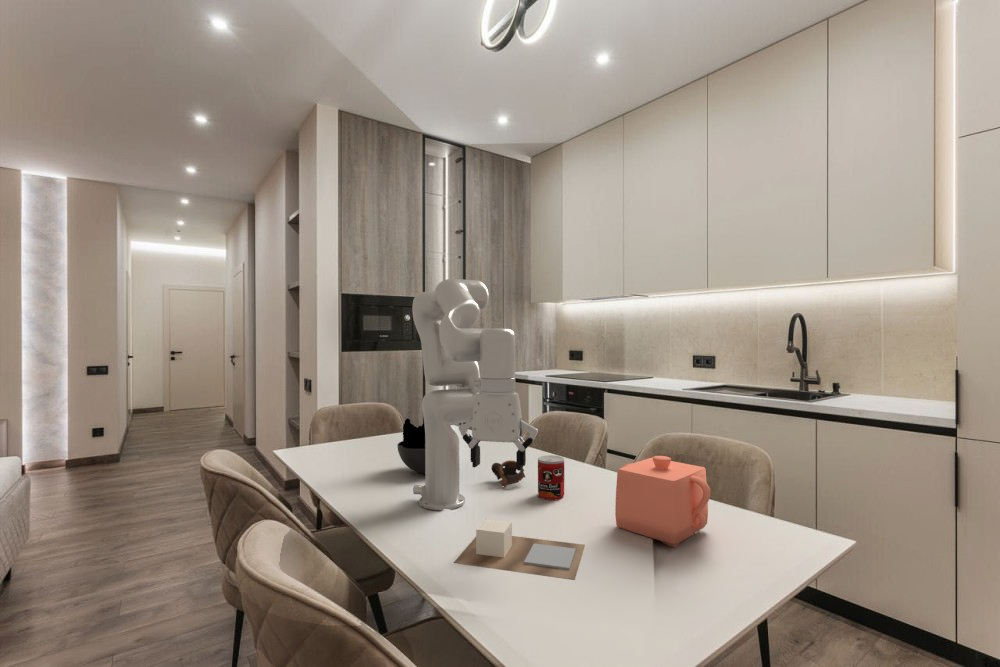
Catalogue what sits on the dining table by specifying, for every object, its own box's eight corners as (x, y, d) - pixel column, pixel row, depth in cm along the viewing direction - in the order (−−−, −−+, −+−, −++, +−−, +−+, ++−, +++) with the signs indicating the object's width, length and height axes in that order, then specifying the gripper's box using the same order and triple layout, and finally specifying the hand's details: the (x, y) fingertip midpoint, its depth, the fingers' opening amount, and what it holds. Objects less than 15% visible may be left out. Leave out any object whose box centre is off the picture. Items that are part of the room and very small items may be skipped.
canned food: (534, 498, 140) (534, 460, 140) (542, 490, 147) (542, 454, 147) (560, 501, 137) (560, 462, 137) (567, 493, 144) (567, 456, 144)
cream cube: (476, 553, 100) (476, 529, 100) (485, 542, 106) (485, 519, 106) (504, 557, 98) (504, 532, 98) (511, 545, 104) (511, 522, 104)
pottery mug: (529, 482, 158) (530, 463, 154) (516, 502, 151) (517, 483, 146) (496, 468, 163) (497, 450, 159) (482, 487, 155) (482, 469, 151)
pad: (523, 563, 96) (523, 561, 96) (533, 545, 104) (533, 543, 104) (569, 570, 93) (569, 567, 93) (575, 550, 102) (575, 548, 102)
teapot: (651, 505, 134) (651, 440, 135) (737, 527, 118) (736, 453, 118) (600, 529, 117) (600, 455, 117) (692, 559, 101) (691, 473, 101)
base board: (453, 570, 96) (453, 562, 96) (479, 538, 111) (479, 532, 111) (574, 587, 89) (574, 579, 89) (585, 551, 104) (585, 544, 104)
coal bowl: (463, 466, 175) (463, 414, 175) (444, 482, 156) (444, 423, 156) (411, 463, 180) (411, 412, 180) (387, 478, 160) (387, 421, 160)
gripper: (453, 387, 102) (453, 469, 101) (533, 389, 97) (534, 475, 97) (465, 384, 109) (465, 460, 109) (541, 385, 104) (541, 465, 104)
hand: (497, 467), depth 103 cm, fingers open, 9 cm apart
